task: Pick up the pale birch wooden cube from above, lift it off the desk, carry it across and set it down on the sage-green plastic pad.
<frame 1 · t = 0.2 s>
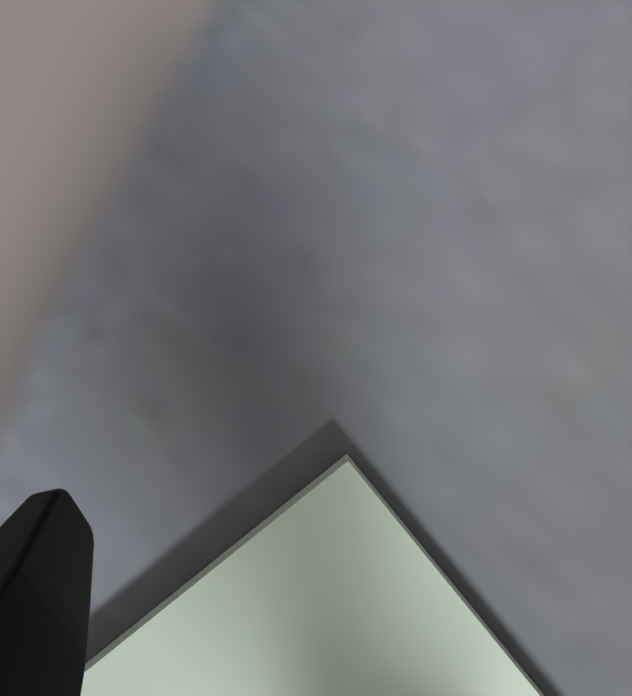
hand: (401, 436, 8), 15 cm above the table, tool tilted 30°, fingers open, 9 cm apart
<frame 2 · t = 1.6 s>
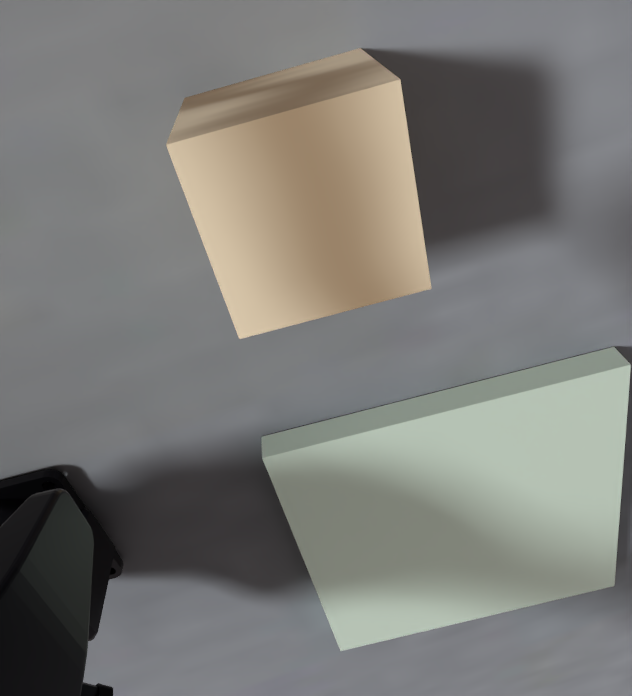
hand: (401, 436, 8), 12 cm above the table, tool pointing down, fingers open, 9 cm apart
birch cube: (294, 161, 18), on the table
green pad: (454, 509, 27), on the table
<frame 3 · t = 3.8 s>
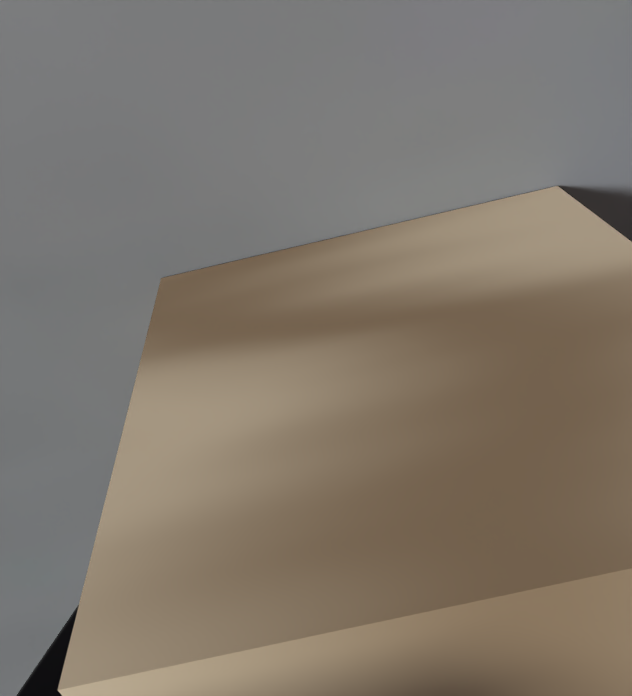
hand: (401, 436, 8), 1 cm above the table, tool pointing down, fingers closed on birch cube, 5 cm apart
birch cube: (384, 388, 9), on the table, touching gripper
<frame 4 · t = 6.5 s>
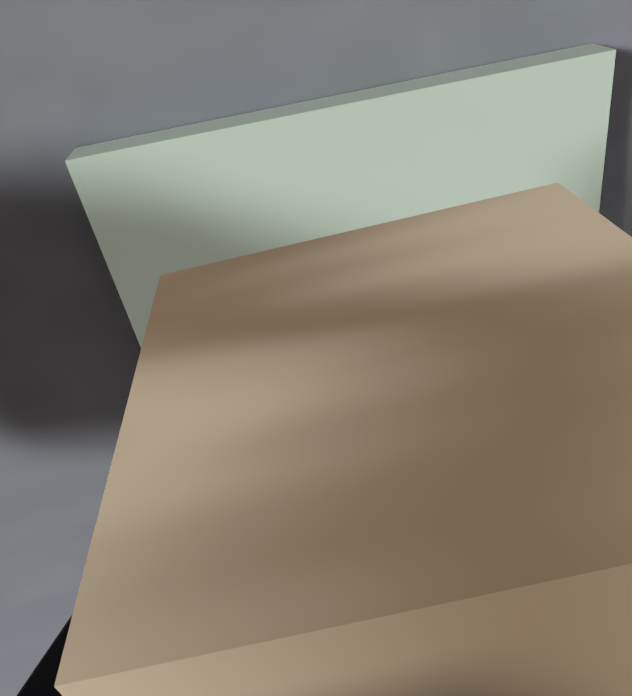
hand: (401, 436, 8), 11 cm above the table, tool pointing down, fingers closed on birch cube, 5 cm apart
birch cube: (384, 385, 9), point 10 cm above the table, touching gripper
green pad: (364, 317, 20), on the table
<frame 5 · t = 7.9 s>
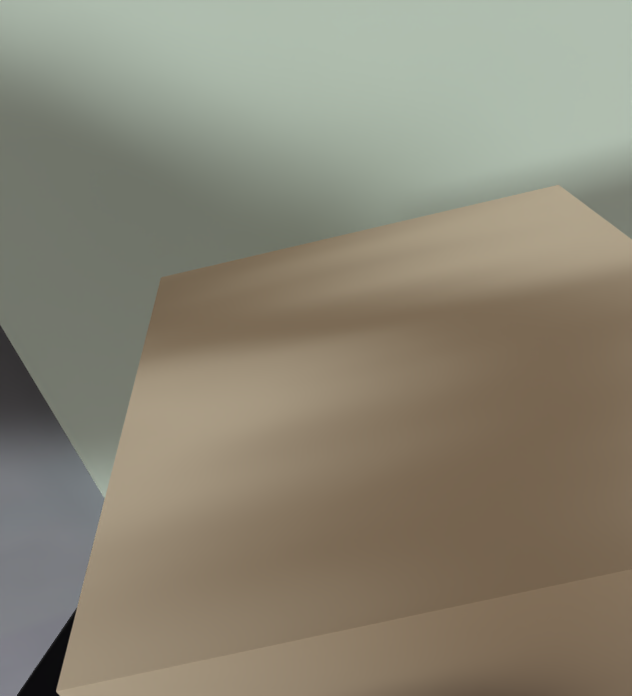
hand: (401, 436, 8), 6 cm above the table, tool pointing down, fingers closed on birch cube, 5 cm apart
birch cube: (385, 387, 9), point 5 cm above the table, touching gripper
green pad: (345, 249, 13), on the table
when the fingers open (3 cm above the table, at t = 9.2 s): birch cube drops 1 cm, resting on green pad.
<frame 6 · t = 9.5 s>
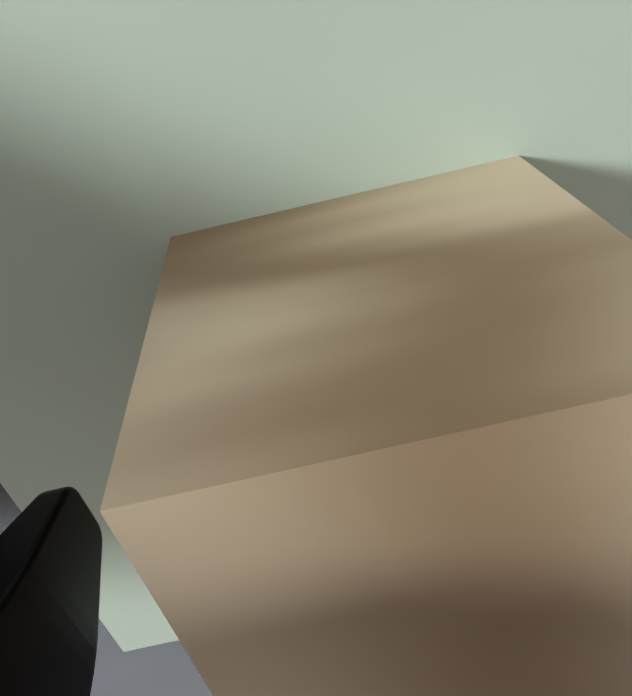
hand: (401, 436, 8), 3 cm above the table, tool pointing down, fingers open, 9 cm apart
birch cube: (369, 340, 10), point 1 cm above the table, touching green pad
green pad: (360, 306, 11), on the table
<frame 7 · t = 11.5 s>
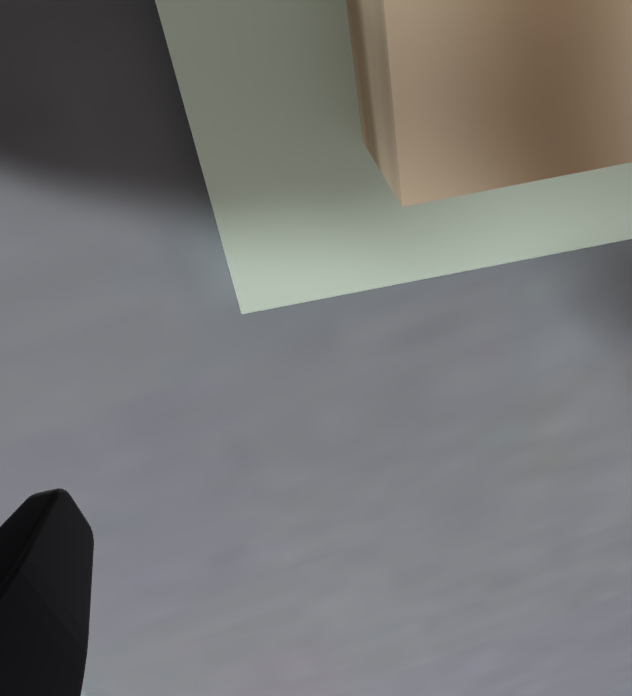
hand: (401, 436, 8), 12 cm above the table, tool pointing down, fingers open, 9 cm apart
birch cube: (449, 21, 15), point 1 cm above the table, touching green pad
green pad: (438, 18, 16), on the table
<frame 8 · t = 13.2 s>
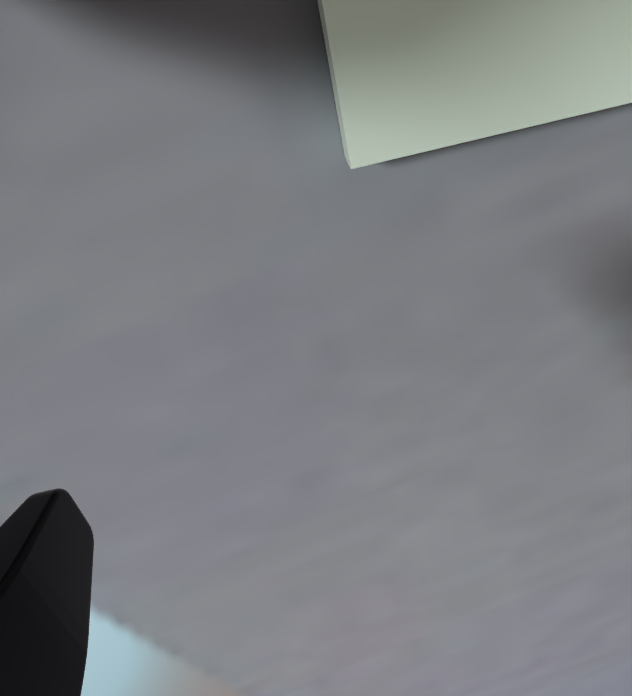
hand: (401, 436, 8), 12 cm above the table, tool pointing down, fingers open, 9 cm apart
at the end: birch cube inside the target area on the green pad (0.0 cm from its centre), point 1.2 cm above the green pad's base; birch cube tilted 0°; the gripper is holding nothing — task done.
